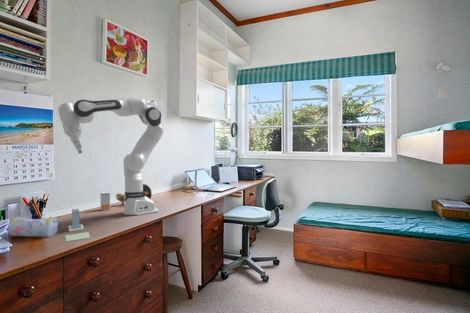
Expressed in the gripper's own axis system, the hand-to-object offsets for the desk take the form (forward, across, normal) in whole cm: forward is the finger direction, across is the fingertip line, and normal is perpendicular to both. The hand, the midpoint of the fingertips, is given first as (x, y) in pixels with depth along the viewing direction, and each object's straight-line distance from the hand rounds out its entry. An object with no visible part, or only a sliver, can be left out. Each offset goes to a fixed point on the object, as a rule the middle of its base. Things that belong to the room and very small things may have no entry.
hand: (79, 151), depth 166 cm
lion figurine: (+37, +46, -16) cm, 61 cm away
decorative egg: (+40, +45, -28) cm, 66 cm away
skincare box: (+35, +36, -3) cm, 50 cm away
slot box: (+43, -9, +12) cm, 45 cm away
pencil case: (+39, -13, +29) cm, 51 cm away
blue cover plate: (+42, -9, +12) cm, 45 cm away
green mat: (+47, -23, +10) cm, 53 cm away
